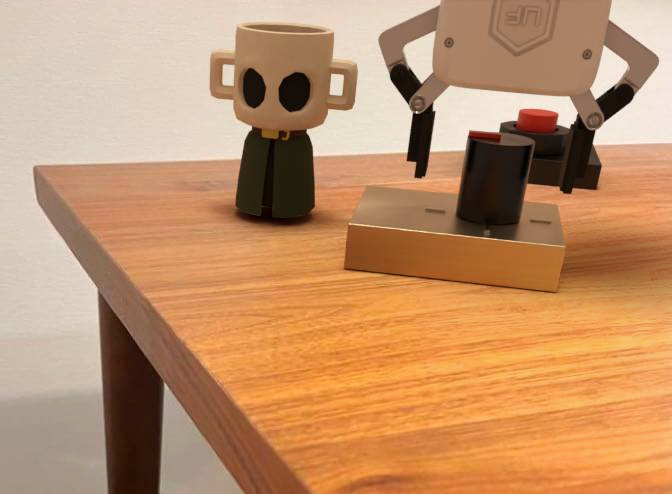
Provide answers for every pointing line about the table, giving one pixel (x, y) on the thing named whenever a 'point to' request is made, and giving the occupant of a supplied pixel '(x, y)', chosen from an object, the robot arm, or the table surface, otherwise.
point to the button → (537, 120)
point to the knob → (494, 177)
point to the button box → (553, 157)
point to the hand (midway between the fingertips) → (491, 181)
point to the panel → (453, 241)
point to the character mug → (280, 109)
